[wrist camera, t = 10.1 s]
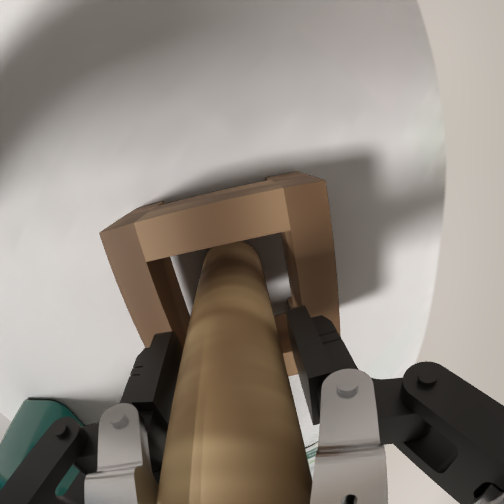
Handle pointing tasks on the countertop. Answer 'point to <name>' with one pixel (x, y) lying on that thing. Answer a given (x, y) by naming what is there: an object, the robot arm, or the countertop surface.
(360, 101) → the countertop surface
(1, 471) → the teal bottle
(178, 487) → the rod
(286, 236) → the brown wooden square frame
